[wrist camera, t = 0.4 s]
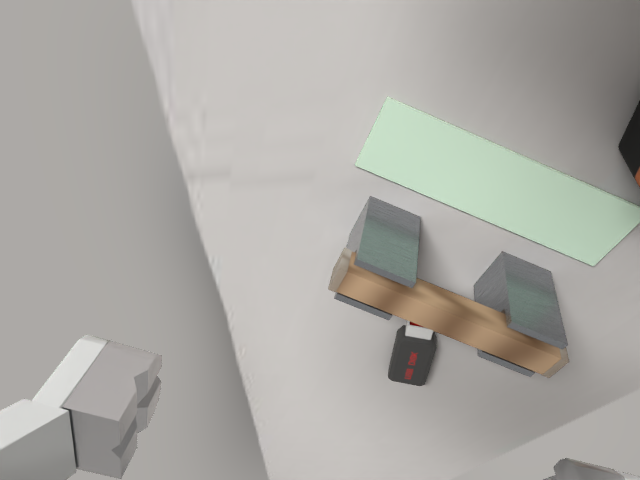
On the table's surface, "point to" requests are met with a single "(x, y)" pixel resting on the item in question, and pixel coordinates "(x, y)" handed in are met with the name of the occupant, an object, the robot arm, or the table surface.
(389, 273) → the stand
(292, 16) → the table surface
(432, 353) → the usb drive
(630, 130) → the battery
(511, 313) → the stand
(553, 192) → the mat
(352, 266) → the rail
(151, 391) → the robot arm
